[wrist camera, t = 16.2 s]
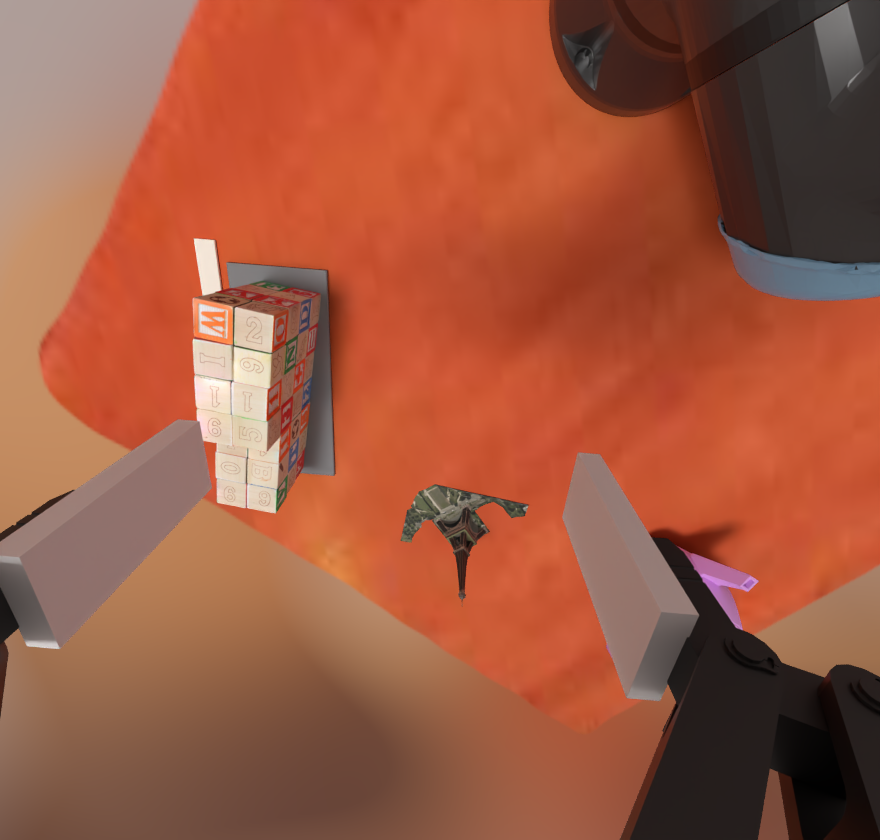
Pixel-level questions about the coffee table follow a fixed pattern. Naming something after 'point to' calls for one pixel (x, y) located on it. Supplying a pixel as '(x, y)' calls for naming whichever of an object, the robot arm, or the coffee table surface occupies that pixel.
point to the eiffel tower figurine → (454, 520)
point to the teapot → (721, 583)
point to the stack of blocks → (255, 387)
